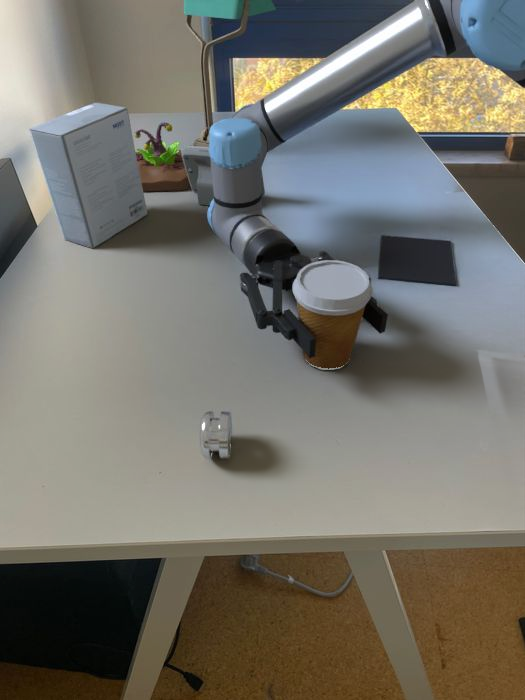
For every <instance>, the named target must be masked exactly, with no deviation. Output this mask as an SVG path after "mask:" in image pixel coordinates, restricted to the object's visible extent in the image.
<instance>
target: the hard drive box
mask: <svg viewBox="0 0 525 700" xmlns="http://www.w3.org/2000/svg"><path fill="white" fill-rule="evenodd" d="M28 131H29V133H30V137H31V139H32V140H31V141H32V143H33V146H34V149H35V153H36V155H37V158H38V162H39V165H40V168H41V171H42V174H43V177H44V180H45V184H46V187H47V190H48V193H49V196H50V199H51V202H52V206H53V209H54V212H55V215H56V218H57V221H58V224H59V228H60V230H61V231H60V232H61V234H62V237H63V240H65V241H67V242H71V243H74V244H77V245H80V246H84V247H87V248H90V249H94V248H96V247H97V246H99V245H101V244H102V243H104V242H106V241H108V240H109V239H111V238H112V237H113V236H115V235H117V234H118V233H120V232H121V231H123V230H125V229H126V228H128V227H129V226H131V225H133V224H135V223H136V222H138V221H139V220H141V219H142V218H143V217H145V216H147V215H148V208H147V204H146V198H145V192H143V188H142V183H141V178H140V173H139V168H138V163H137V157H136V152H137V151H136V147H135V143H134V136H133V132H132V126H131V121H130V116H129V111H128V108H127V107H125V106H119V105H113V104H107V103H102V102H93V103H91V104H88V105H86V106H83V107H80V108H78V109H76V110H73V111H69V112H68V113H65V114H63V115H60V116H57V117H55V118H53V119H50V120H47V121H44V122H42V123H40V124H37V125H35V126H32V127H30V128H28Z"/></svg>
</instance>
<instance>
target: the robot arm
mask: <svg viewBox="0 0 525 700" xmlns="http://www.w3.org/2000/svg"><path fill="white" fill-rule="evenodd" d="M466 47H468V48H469V49H470V51H471V53H472V54H473V55H474V56H475V57H476V58H477V59H478V60H479V61H480V62H482V63H483V64H484V65H487V66H490V67H493V68H494V69H496V70H498V71H500V72H501V73H502V74H504V75H506V76H507V77H508V78H509V79H511V80H512V81H513V82H515V83H516V84H517V85H519V86H520V87H521V88H523V89H525V0H414V1H412V2H411V3H409V4H408V5H406V6H404V7H403V8H402V9H400V10H398V11H397V12H394V13H393V14H392V15H390V16H389V17H387V18H386V19H384V20H383V21H381V22H379V23H378V24H376V25H375V26H373V27H372V28H370V29H369V30H367V31H365V32H364V33H362V34H361V35H359V36H357V37H356V38H355V39H353V40H351V41H350V42H348V43H347V44H345V45H344V46H342V47H340V48H339V49H338V50H336V51H334V52H333V53H331V54H329V55H328V56H326V57H325V58H323V59H322V60H320V61H318V62H317V63H315V64H314V65H313V66H311V67H309V68H307V69H306V70H305V71H303V72H301V73H300V74H298V75H297V76H295V77H294V78H292V79H290V80H289V81H287V82H286V83H284V84H282V85H281V86H280V87H278V88H276V89H275V90H273V91H272V92H270V93H268V94H267V95H266V96H264V97H262V99H259V100H257V101H256V102H255V103H248V104H246V105H244V106H242V107H240V108H239V109H238V110H237V111H236V112H234V114H233V115H232V117H230V118H224V119H220V120H219V121H216V122H213V125H212V126H211V128H210V130H209V154H210V159H211V170H212V181H213V192H214V199H213V200H212V201H211V203H210V205H208V209H207V213H206V217H207V222H208V224H209V226H210V228H211V229H212V231H213V232H214V233H215V236H216V237H217V238H218V239H219V240H220V241H221V242H222V243H223V244H224V245H225V246H226V247H227V248H228V249H229V250H230V251H231V253H233V255H234V256H235V257H236V258H237V259H238V260H239V261H240V262H241V263H242V264H243V266H245V268H246V269H247V270H248V272H242V273H240V274H239V276H240V277H239V278H240V279H239V281H240V291H241V293H243V294H244V295H245V296H246V297H247V300H248V302H249V306H250V309H251V311H252V314H253V317H254V321H255V324H256V327H257V329H259V330H265V329H267V328H268V327H270V326H271V327H272V332H273V333H275V334H281V335H282V336H283V338H285V340H287V341H290V340H293V341H294V342H295V343H296V344H297V345H298V347H299V348H300V349H301V350H302V352H303V351H304V353H305V354H306V355H307V356H308V357H309V358H312V357H315V348H316V338H315V337H314V336H313V335H312V334H311V333H310V331H309V330H308V329H307V328H306V327H305V326H304V325H303V324H302V323H301V322H300V320H299V317H297V316H296V314H294V312H293V311H291V309H290V308H288V309H284V310H283V291H285V292H289V291H291V290H293V289H292V287H293V282H294V280H295V279H296V278H297V274H298V273H299V271H300V270H301V269H302V268H303V267H305V266H306V265H308V264H311V263H314V262H318V261H324V260H336V259H335V258H333V257H332V256H331V254H329V253H328V252H327V251H326V250H325V251H324V250H321V251H319V253H318V256H316V257H312V258H310V257H309V256H307V255H304V254H302V253H301V251H300V249H299V248H298V246H297V245H296V243H295V242H294V241H293V240H292V239H290V237H289V236H287V235H286V234H285V233H283V231H282V230H281V229H280V228H278V227H277V226H276V225H275V224H274V223H273V222H271V220H270V219H268V218H267V217H266V216H265V215H264V214H263V199H262V198H263V197H262V192H261V170H262V171H263V169H262V168H263V164H264V162H265V160H266V157H267V155H268V153H269V152H270V151H272V150H274V149H276V148H277V147H279V146H281V145H282V144H284V143H286V142H287V141H289V140H291V139H292V138H294V137H296V136H297V135H299V134H301V133H302V132H304V131H306V130H307V129H309V128H311V127H313V126H314V125H316V124H318V123H320V122H321V121H323V120H324V119H327V118H328V117H330V116H332V115H333V114H335V113H337V112H339V111H340V110H342V109H344V108H345V107H347V106H349V105H350V104H352V103H354V102H356V101H358V100H359V99H361V98H363V97H364V96H367V95H368V94H370V93H372V92H373V91H375V90H377V89H378V88H380V87H382V86H383V85H385V84H387V83H388V82H391V81H392V80H394V79H396V78H397V77H399V76H401V75H402V74H404V73H406V72H407V71H409V70H411V69H413V68H415V67H416V66H418V65H420V64H421V63H423V62H425V61H427V60H428V59H430V58H432V57H434V56H438V57H442V58H446V57H449V56H450V55H452V54H454V53H455V52H457V51H459V50H461V49H463V48H466ZM249 273H250V274H251V275H250V274H249ZM369 282H370V284H371V283H372V279H371V277H369ZM259 285H260V286H261V285H262V286H265V287H268V288H271V289H272V307H271V309H272V310H267V308H266V305H265V302H264V299H263V295H262V294H261V291H260V288H259ZM371 285H372V284H371ZM388 317H389V314H388V313H387V312H386V311H385V310H384V309H383V308H382V307H381V306H380V305H378V301H377V299H376V298H375V297H374V296H373V295H372V296H371V298H370V300H369V301H368V303H367V304H366V306H365V309H364V312H363V316H362V319H364V320H365V321H366V322H367V323H368V324H369V325H370V326H371V327H372V328H373V329H375V330H376V331H377V332H378V333H379V334H383V333H385V332H386V329H387V323H388Z"/></svg>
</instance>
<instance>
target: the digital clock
mask: <svg viewBox="0 0 525 700" xmlns="http://www.w3.org/2000/svg"><path fill="white" fill-rule="evenodd" d="M180 150H181V155H182V159H183V162H184V165H185V169H186V172H187V175H188V179H189V182H190V186H189V187H190V188H191V191H192V192H193V193H196V194H197V202H198V205H200V206H201V205H202V206H210V203H211V201H212V200H213V199H214V192H213V181H212V170H211V159H210V154H209V147H199V146H192V145H187V146H182V147H181V149H180ZM261 192H262V198H264V196H265V192H266V191H265V184H264V176H263V169H262V170H261Z"/></svg>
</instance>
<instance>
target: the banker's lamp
mask: <svg viewBox="0 0 525 700" xmlns="http://www.w3.org/2000/svg"><path fill="white" fill-rule="evenodd" d="M275 10H277V8H276V6H275V5H274V2H273V1H272V0H183V15H185V20H184V21H185V22H184V23H185V25H186V27H187V28H188V30H189V31H190V32H191V33H192V34H193V36H194V37H195V38H196V39H197V40H198V42H199V43H200V46H201V47H200V54H199V68H200V69H199V70H200V79H201V81H200V82H201V93H202V105H203V115H204V128H203V129H202V130H200V133H199V137H198V138H196V139H195V140H193V143H192V145H191V146H199V147H209V130H210V128H211V126H212V125H213V124H214V117H213V105H212V103H213V102H212V92H211V80H210V79H211V78H210V67H209V66H210V65H209V59H210V50H211V48H212V47H213V46H215V45H216V44H220V43H222V42H225V41H229V40H231V39H234V38H237V37H239V36H242V35H243V34H244V33H245V32H246V30H247V24H248V17H251V16H252V17H253V16H256V15H260V14H264V13H268V12H271V11H275ZM193 16H197V17H207V18H217V19H227V20H228V19H229V20H238V19H241V22H240V27H239V28H238V29H236V30H234V31H232V32H230V33H227V34H225V35H222V36H220V37H218V38H215V39H214V40H211V41H209V42H208V43H207V42H206V40H204V39H203V38H202V37H201V35H199V34H198V33H197V32H196V30H194V29H193V26H192V18H193Z"/></svg>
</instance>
